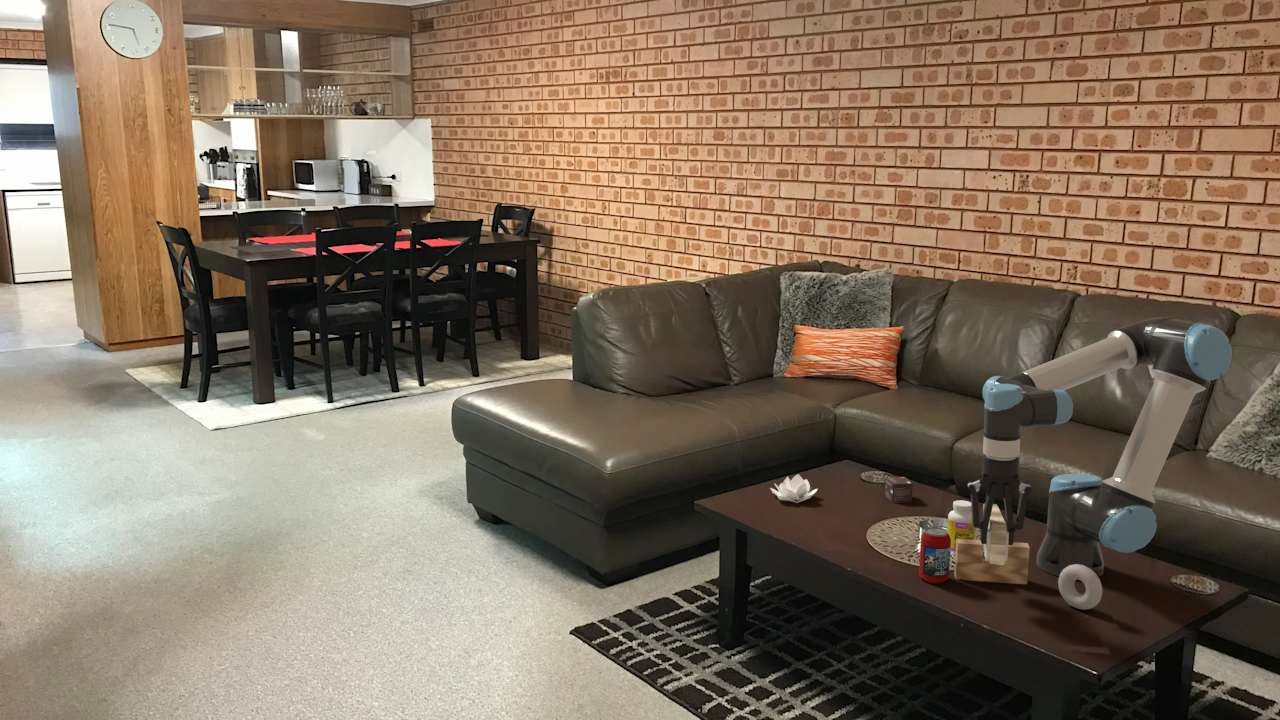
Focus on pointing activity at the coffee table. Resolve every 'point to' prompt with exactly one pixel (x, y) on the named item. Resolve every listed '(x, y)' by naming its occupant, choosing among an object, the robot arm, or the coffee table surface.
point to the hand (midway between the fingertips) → (995, 557)
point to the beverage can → (935, 555)
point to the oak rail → (980, 569)
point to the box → (898, 489)
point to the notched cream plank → (997, 536)
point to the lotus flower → (794, 489)
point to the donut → (1090, 582)
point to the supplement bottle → (960, 523)
